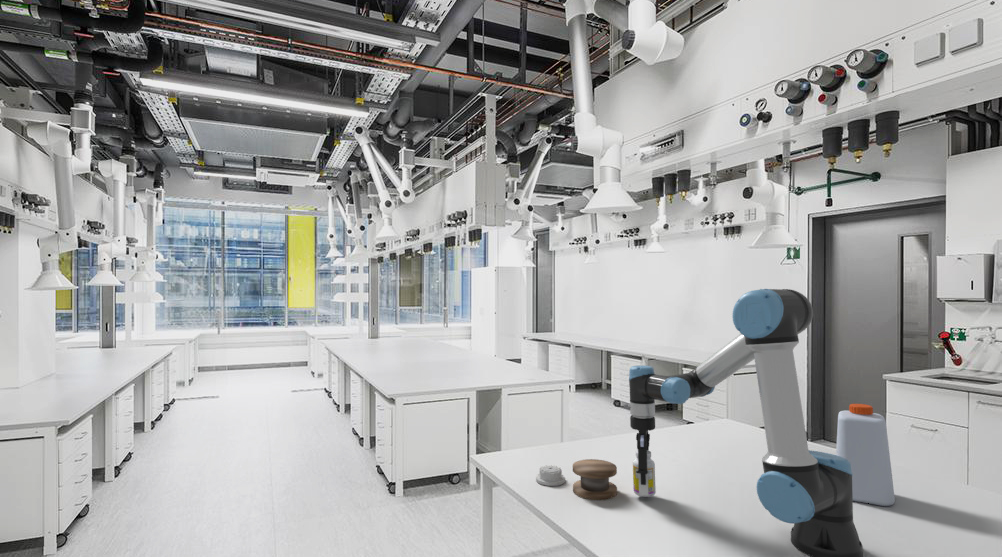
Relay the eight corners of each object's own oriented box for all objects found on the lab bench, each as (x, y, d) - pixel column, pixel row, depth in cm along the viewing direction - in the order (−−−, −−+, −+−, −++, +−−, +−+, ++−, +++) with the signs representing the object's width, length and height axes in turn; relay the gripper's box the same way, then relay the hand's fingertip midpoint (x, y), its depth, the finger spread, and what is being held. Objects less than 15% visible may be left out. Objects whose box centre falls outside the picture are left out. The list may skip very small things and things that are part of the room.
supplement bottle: (639, 487, 164) (638, 447, 164) (659, 492, 160) (657, 451, 160) (629, 494, 159) (628, 452, 159) (650, 499, 154) (649, 456, 155)
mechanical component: (542, 474, 181) (531, 484, 172) (542, 462, 181) (531, 470, 172) (569, 478, 177) (559, 488, 168) (569, 465, 177) (559, 475, 168)
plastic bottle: (892, 493, 161) (889, 403, 162) (896, 510, 149) (892, 413, 150) (835, 483, 170) (832, 398, 170) (834, 498, 157) (831, 407, 158)
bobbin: (624, 497, 159) (624, 471, 159) (581, 501, 156) (581, 475, 157) (606, 481, 173) (606, 457, 173) (567, 485, 170) (566, 460, 170)
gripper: (632, 408, 171) (634, 478, 170) (627, 422, 152) (629, 500, 151) (655, 409, 168) (657, 480, 167) (653, 423, 150) (656, 503, 149)
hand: (644, 490), depth 159 cm, fingers closed on supplement bottle, 7 cm apart
